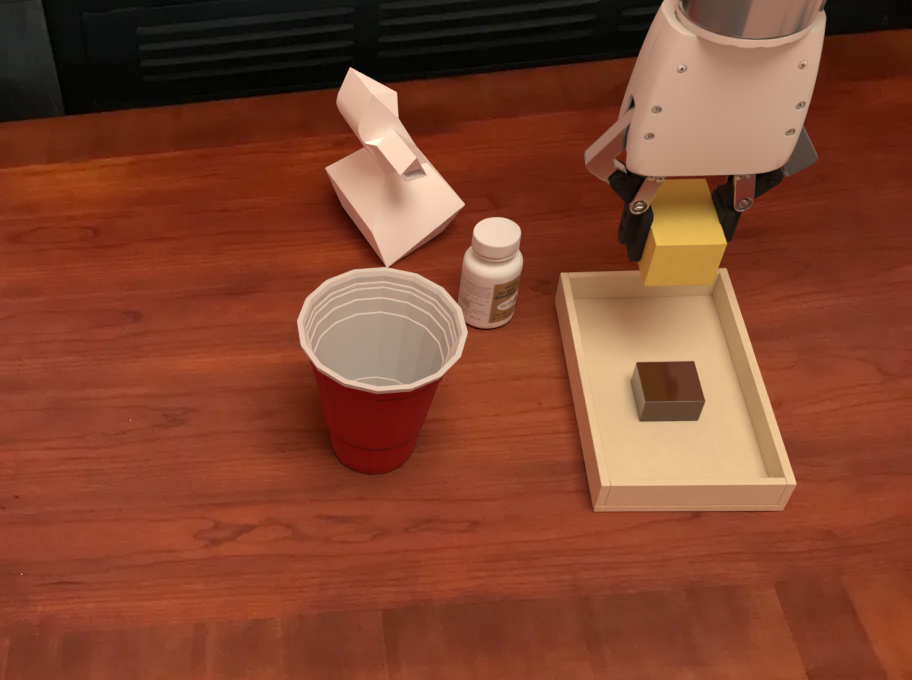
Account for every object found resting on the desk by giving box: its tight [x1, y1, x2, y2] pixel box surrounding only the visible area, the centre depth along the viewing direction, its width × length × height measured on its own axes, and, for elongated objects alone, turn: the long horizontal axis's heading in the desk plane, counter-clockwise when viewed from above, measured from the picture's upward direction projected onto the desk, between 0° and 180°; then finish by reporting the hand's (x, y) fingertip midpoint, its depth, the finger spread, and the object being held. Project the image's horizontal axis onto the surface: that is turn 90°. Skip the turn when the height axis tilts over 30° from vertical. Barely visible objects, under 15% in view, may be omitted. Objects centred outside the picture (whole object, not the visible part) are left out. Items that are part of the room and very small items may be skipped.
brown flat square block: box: [631, 361, 705, 422], centre depth 81 cm, size 4×4×2 cm
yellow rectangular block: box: [637, 178, 728, 286], centre depth 78 cm, size 4×7×4 cm, turn 176°
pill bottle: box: [457, 216, 524, 329], centre depth 87 cm, size 4×4×8 cm
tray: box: [554, 267, 797, 513], centre depth 82 cm, size 12×21×3 cm, turn 176°
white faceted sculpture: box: [324, 66, 466, 268], centre depth 92 cm, size 8×14×14 cm, turn 19°
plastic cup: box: [296, 266, 469, 475], centre depth 78 cm, size 11×11×12 cm
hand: (670, 246), depth 79 cm, fingers closed on yellow rectangular block, 4 cm apart
